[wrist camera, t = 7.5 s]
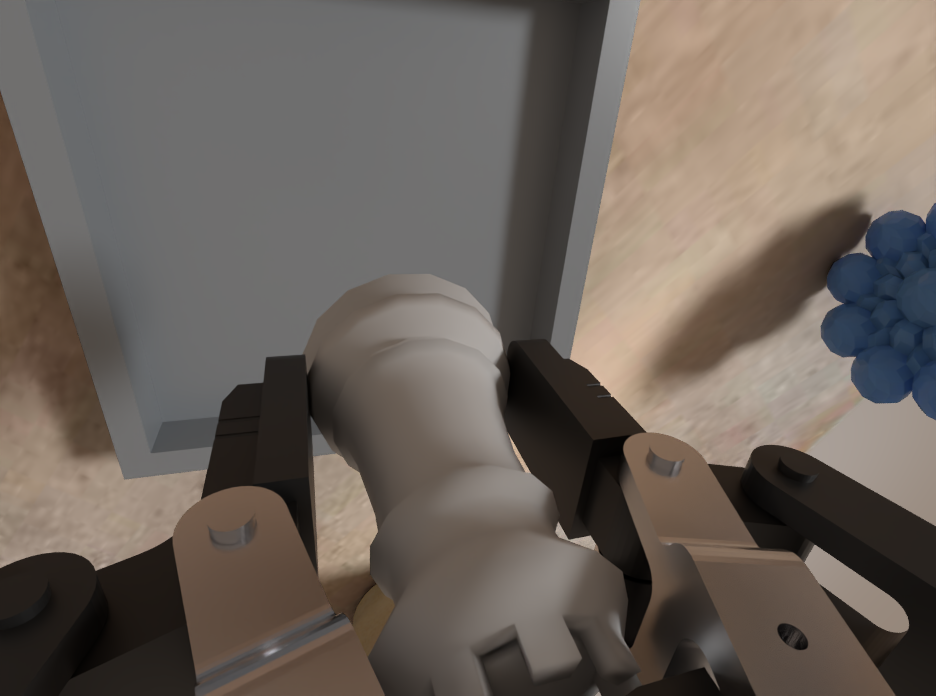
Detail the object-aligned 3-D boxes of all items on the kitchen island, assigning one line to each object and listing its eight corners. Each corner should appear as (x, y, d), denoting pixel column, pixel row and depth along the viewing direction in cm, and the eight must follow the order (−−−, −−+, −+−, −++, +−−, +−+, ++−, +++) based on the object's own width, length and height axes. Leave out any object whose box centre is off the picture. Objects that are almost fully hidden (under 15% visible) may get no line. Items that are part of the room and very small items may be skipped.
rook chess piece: (374, 461, 13) (453, 876, 6) (256, 338, 11) (189, 802, 4) (520, 369, 13) (753, 693, 6) (435, 224, 11) (671, 504, 4)
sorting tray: (604, -28, 20) (648, -40, 18) (534, 395, 30) (556, 426, 27) (-16, -127, 14) (-82, -167, 12) (142, 435, 24) (124, 479, 21)
